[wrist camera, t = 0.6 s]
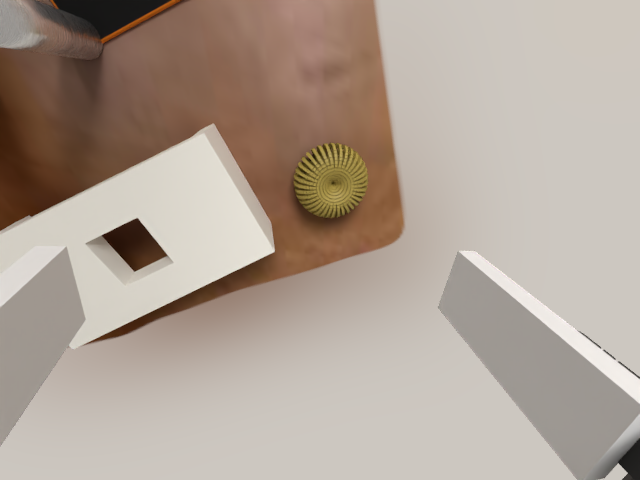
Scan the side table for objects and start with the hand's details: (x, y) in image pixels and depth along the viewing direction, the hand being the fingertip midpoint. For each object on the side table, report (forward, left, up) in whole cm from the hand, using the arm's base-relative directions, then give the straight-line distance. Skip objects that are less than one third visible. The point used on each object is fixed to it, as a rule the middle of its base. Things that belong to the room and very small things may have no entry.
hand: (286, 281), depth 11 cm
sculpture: (+6, +5, -25) cm, 26 cm away
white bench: (+1, -14, -25) cm, 28 cm away
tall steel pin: (-15, -9, -25) cm, 30 cm away
